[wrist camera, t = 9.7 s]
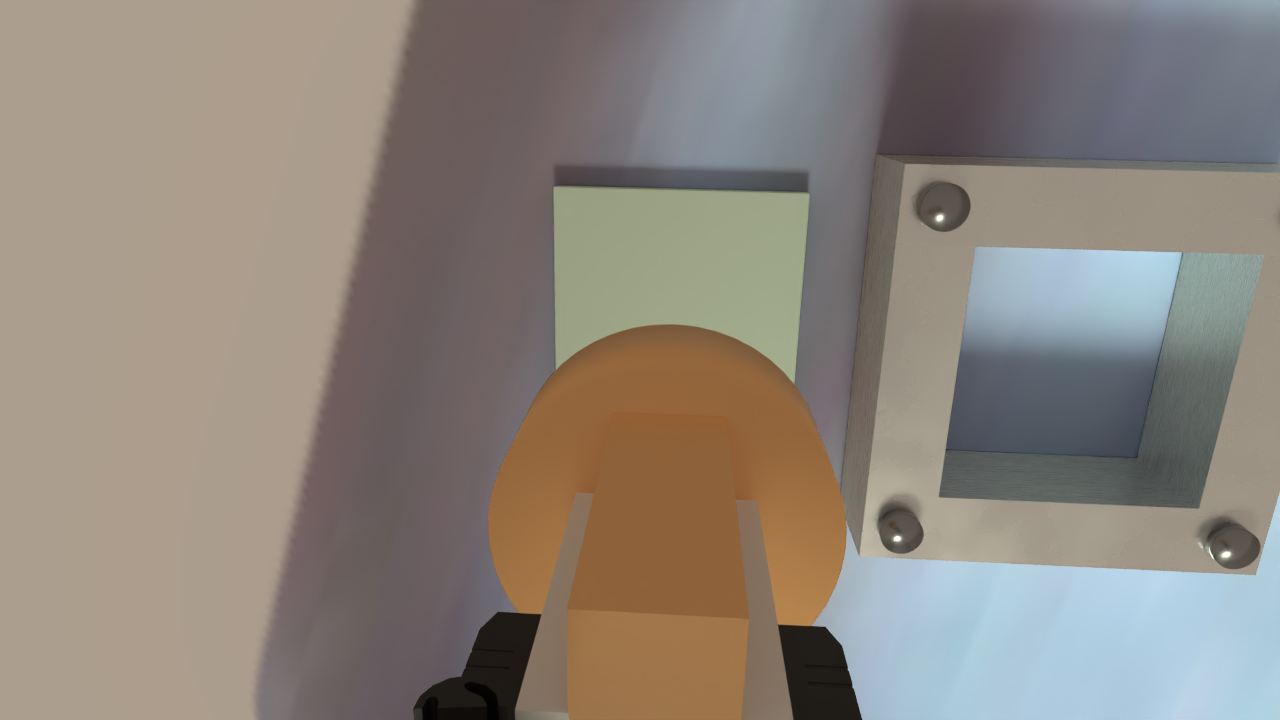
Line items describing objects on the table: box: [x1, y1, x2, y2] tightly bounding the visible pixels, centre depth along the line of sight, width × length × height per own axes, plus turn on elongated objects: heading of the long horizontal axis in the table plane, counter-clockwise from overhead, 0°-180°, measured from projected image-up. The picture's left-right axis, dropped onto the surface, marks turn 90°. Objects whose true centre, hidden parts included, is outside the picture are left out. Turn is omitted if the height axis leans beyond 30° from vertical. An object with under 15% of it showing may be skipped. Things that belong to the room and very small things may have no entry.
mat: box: [553, 185, 810, 384], centre depth 34 cm, size 12×10×1 cm
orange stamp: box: [488, 324, 846, 720], centre depth 17 cm, size 8×8×10 cm
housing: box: [841, 154, 1280, 575], centre depth 31 cm, size 15×15×5 cm
